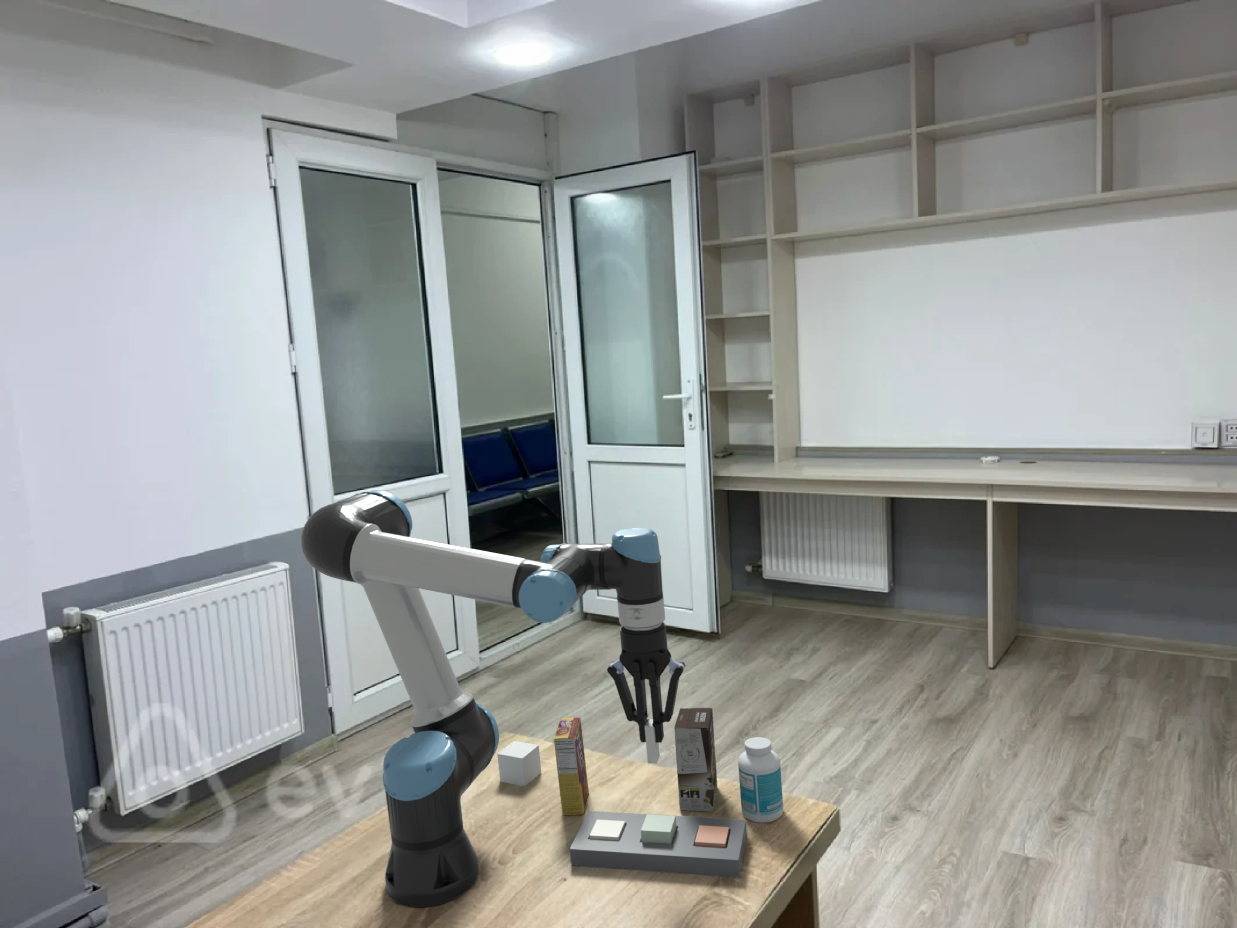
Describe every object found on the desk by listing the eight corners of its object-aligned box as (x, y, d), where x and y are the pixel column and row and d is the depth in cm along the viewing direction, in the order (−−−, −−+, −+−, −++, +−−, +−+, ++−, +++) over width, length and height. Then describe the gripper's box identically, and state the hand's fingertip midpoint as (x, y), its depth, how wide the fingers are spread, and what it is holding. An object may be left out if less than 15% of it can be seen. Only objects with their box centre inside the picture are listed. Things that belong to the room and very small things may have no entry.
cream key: (591, 853, 156) (589, 835, 155) (598, 836, 161) (597, 819, 160) (619, 855, 155) (618, 836, 154) (626, 838, 159) (624, 820, 159)
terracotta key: (696, 860, 151) (694, 841, 151) (700, 843, 156) (699, 825, 156) (726, 862, 150) (725, 843, 150) (729, 845, 155) (728, 826, 155)
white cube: (525, 786, 181) (522, 758, 180) (500, 781, 184) (497, 753, 183) (541, 772, 186) (538, 744, 185) (516, 767, 189) (514, 740, 188)
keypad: (571, 865, 153) (569, 848, 153) (590, 826, 165) (588, 810, 164) (739, 877, 146) (738, 859, 146) (746, 835, 158) (745, 819, 157)
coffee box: (714, 812, 166) (708, 728, 164) (678, 810, 168) (672, 727, 165) (718, 786, 175) (713, 706, 173) (685, 785, 176) (679, 706, 174)
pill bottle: (785, 804, 167) (781, 734, 165) (781, 826, 160) (777, 753, 158) (744, 801, 169) (740, 732, 167) (738, 822, 162) (734, 751, 160)
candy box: (566, 791, 178) (560, 717, 175) (589, 791, 177) (582, 716, 175) (560, 816, 169) (553, 738, 167) (583, 815, 168) (576, 737, 166)
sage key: (642, 848, 153) (640, 830, 153) (648, 832, 158) (646, 814, 158) (671, 850, 152) (670, 831, 152) (676, 833, 157) (675, 815, 157)
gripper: (597, 631, 147) (610, 768, 151) (677, 631, 144) (688, 771, 148) (609, 616, 155) (621, 747, 158) (685, 615, 152) (695, 750, 155)
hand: (653, 759), depth 153 cm, fingers closed
